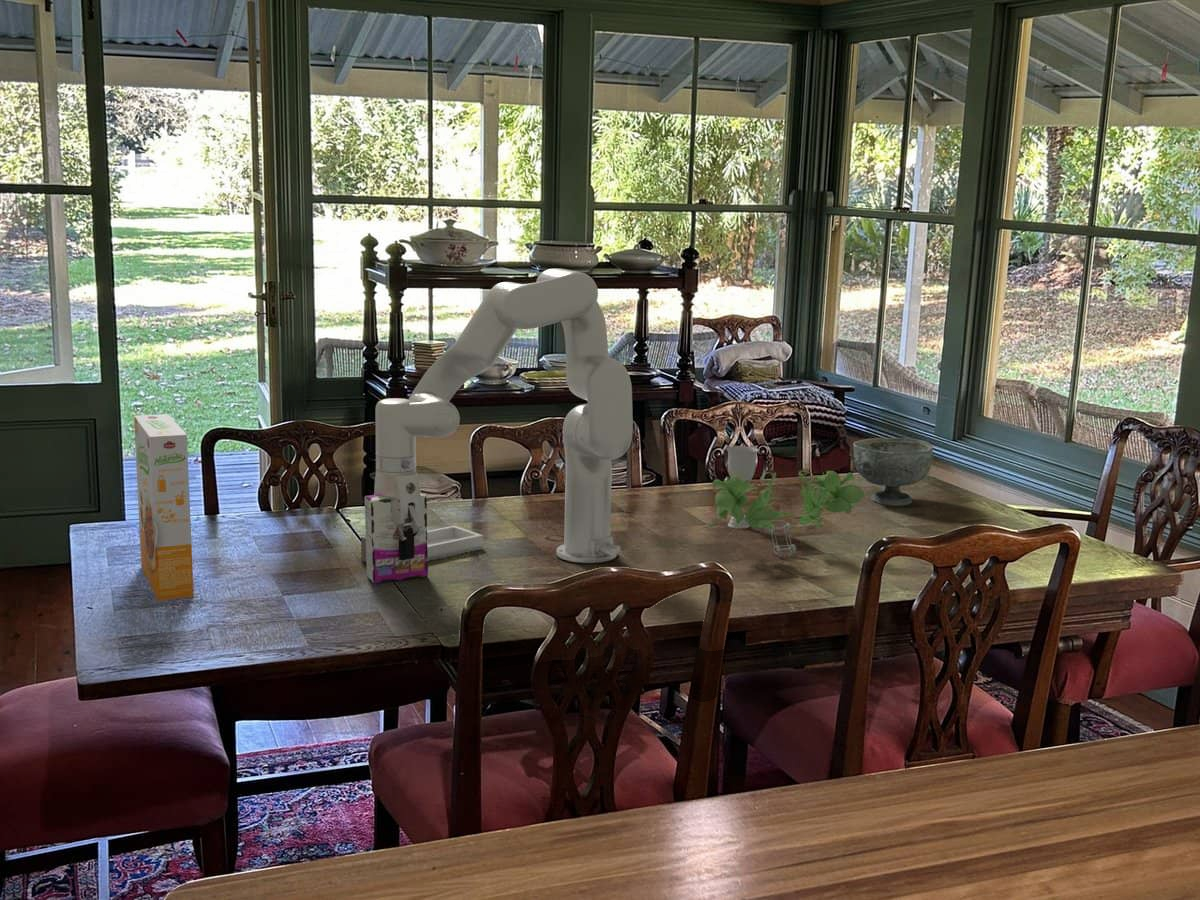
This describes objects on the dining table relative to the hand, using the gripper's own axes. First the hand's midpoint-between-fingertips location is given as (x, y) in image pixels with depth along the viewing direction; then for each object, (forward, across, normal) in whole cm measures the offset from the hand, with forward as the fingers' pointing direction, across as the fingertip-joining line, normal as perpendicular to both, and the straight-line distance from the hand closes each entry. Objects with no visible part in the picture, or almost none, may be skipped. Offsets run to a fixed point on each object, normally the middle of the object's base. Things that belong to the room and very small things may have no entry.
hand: (396, 554), depth 237 cm
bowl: (+5, -24, -132) cm, 134 cm away
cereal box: (+5, +25, +35) cm, 43 cm away
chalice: (+5, -16, -83) cm, 85 cm away
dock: (+5, +10, -17) cm, 20 cm away
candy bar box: (+5, 0, 0) cm, 5 cm away
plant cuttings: (+5, -34, -74) cm, 81 cm away
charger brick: (+5, +12, -3) cm, 13 cm away
